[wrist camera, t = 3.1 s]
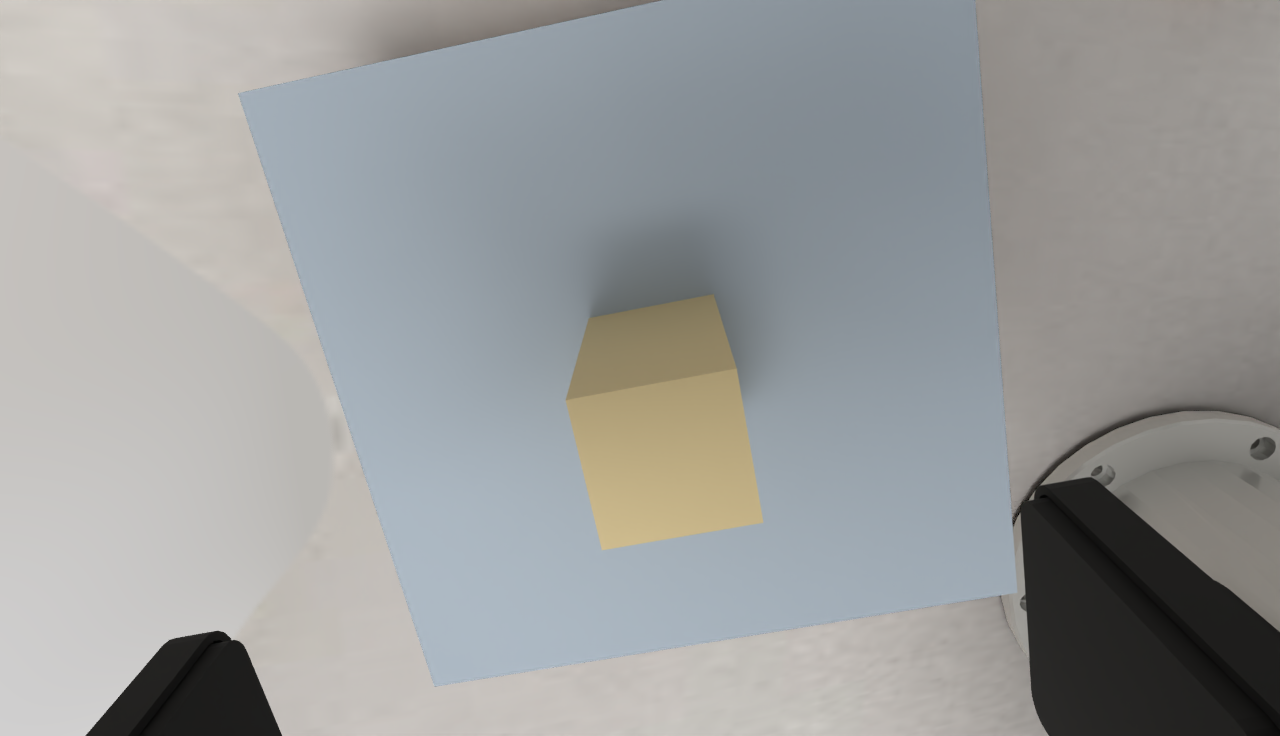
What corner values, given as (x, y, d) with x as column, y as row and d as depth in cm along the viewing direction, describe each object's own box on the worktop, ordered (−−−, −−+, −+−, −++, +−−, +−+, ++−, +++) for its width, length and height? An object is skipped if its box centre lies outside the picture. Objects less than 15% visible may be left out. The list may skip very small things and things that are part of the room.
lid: (954, -60, 19) (1114, -142, 13) (1003, 573, 24) (1134, 752, 18) (257, 93, 20) (67, 92, 14) (442, 664, 26) (369, 864, 19)
